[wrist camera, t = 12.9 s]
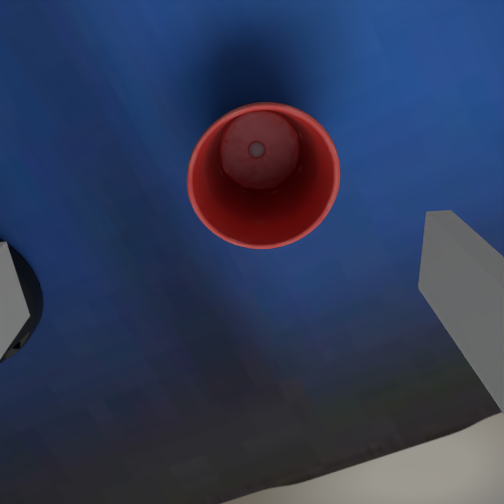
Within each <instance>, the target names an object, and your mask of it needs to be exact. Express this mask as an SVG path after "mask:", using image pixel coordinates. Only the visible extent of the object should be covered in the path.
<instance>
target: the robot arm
mask: <svg viewBox="0 0 504 504" xmlns="http://www.w3.org/2000/svg"><path fill="white" fill-rule="evenodd" d="M418 288H419V290H420V291H421V293H422V294H423V296H424V297H425V299H426V300H427V302H428V303H429V305H430V306H431V308H432V309H433V311H434V312H435V313H436V315H437V316H438V318H439V319H440V321H441V322H442V324H443V325H444V327H445V328H446V330H447V331H448V333H449V334H450V336H451V337H452V338H453V340H454V341H455V343H456V344H457V346H458V347H459V349H460V350H461V352H462V353H463V355H464V356H465V358H466V359H467V360H468V362H469V363H470V365H471V366H472V368H473V369H474V371H475V372H476V374H477V375H478V377H479V378H480V380H481V381H482V383H483V384H484V385H485V387H486V388H487V390H488V391H489V393H490V394H491V396H492V397H493V399H494V400H495V402H496V403H497V405H498V406H499V408H500V409H501V410H502V412H503V413H504V257H503V256H502V255H501V254H500V253H498V252H497V251H496V250H495V249H494V248H493V247H492V246H491V245H489V244H488V243H487V242H486V241H485V240H484V239H483V238H482V237H480V236H479V235H478V234H477V233H476V232H475V231H474V230H473V229H471V228H470V227H469V226H468V225H467V224H466V223H465V222H464V221H462V220H461V219H460V218H459V217H458V216H457V215H456V214H455V213H453V212H452V211H451V210H446V211H432V212H426V219H425V229H424V238H423V247H422V257H421V266H420V275H419V285H418ZM42 309H43V298H42V293H41V289H40V286H39V283H38V280H37V278H36V276H35V274H34V273H33V271H32V269H31V268H30V267H29V265H28V264H27V263H26V261H25V260H24V259H23V258H22V257H21V256H20V255H19V254H18V253H17V252H16V251H15V250H14V249H12V248H11V247H10V246H8V245H7V242H3V241H1V240H0V363H2V362H3V361H4V360H6V359H8V358H9V357H11V356H12V355H14V354H15V353H17V352H18V351H19V350H20V349H21V348H22V347H23V346H24V345H25V344H26V343H27V341H28V340H29V338H30V337H31V335H32V334H33V332H34V331H35V329H36V328H37V326H38V324H39V322H40V319H41V315H42Z"/></svg>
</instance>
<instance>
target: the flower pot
mask: <svg viewBox="0 0 504 504" xmlns="http://www.w3.org/2000/svg"><path fill="white" fill-rule="evenodd" d="M339 184H340V162H339V158H338V154H337V150H336V148H335V145H334V143H333V141H332V139H331V137H330V136H329V134H328V133H327V131H326V130H325V129H324V127H323V126H322V125H321V124H320V123H319V122H318V121H317V120H315V119H314V118H313V117H312V116H310V115H309V114H307V113H306V112H304V111H302V110H300V109H298V108H295V107H293V106H290V105H286V104H282V103H275V102H257V103H251V104H247V105H243V106H241V107H238V108H236V109H233V110H231V111H229V112H228V113H226V114H224V115H223V116H221V117H220V118H219V119H217V120H216V121H215V122H214V123H213V124H212V125H211V126H210V127H209V128H208V129H207V130H206V131H205V132H204V133H203V135H202V136H201V137H200V139H199V140H198V142H197V143H196V145H195V147H194V149H193V152H192V154H191V157H190V160H189V164H188V170H187V190H188V196H189V199H190V202H191V205H192V207H193V209H194V211H195V213H196V214H197V216H198V217H199V219H200V220H201V221H202V222H203V224H204V225H205V226H206V227H207V228H208V229H210V230H211V231H212V232H213V233H214V234H216V235H217V236H219V237H220V238H222V239H224V240H226V241H228V242H230V243H233V244H235V245H238V246H242V247H247V248H254V249H269V248H277V247H281V246H284V245H287V244H290V243H293V242H295V241H297V240H299V239H301V238H302V237H304V236H305V235H307V234H308V233H310V232H311V231H312V230H313V229H315V228H316V227H317V226H318V225H319V224H320V223H321V222H322V221H323V219H324V218H325V217H326V215H327V214H328V212H329V211H330V209H331V207H332V205H333V203H334V201H335V198H336V196H337V193H338V189H339Z"/></svg>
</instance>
